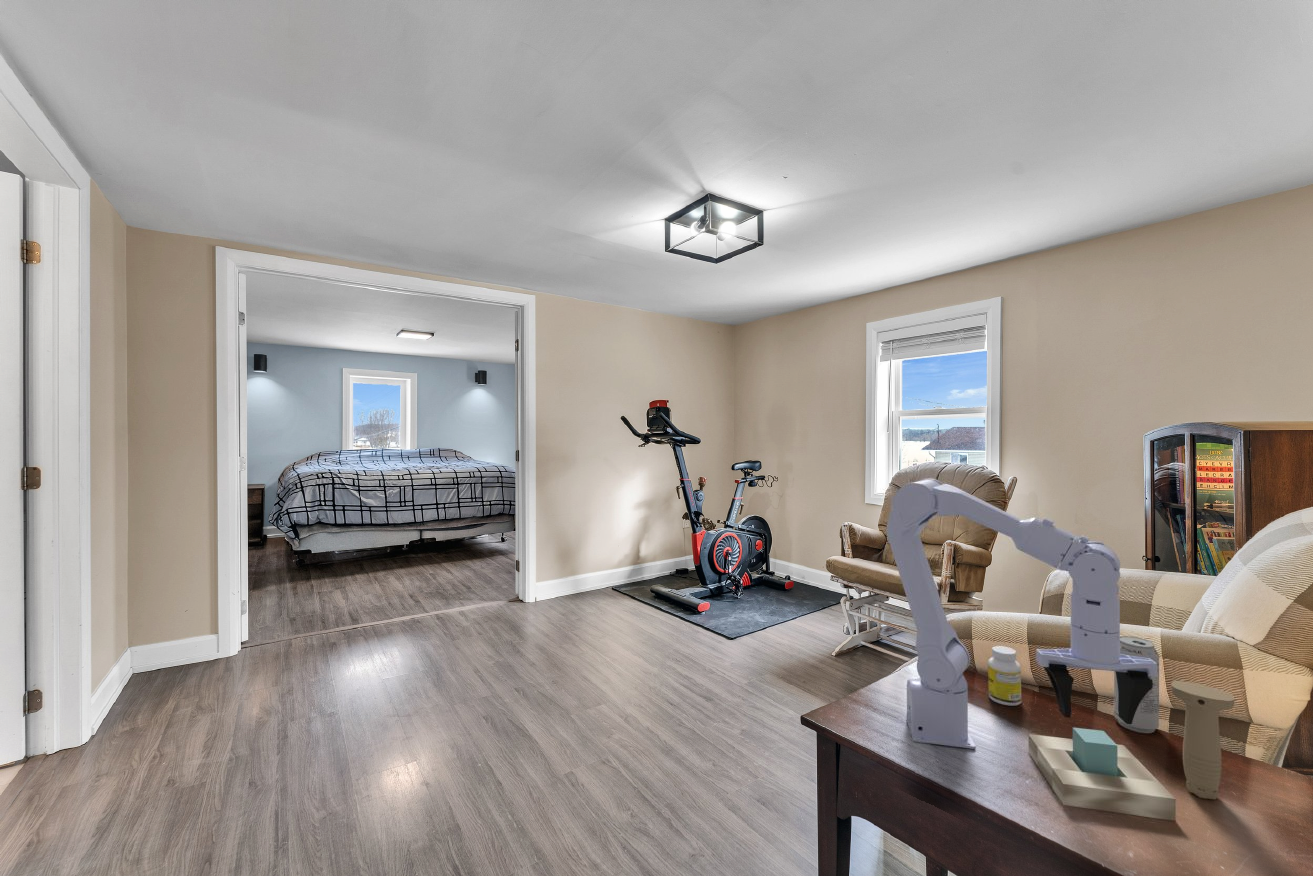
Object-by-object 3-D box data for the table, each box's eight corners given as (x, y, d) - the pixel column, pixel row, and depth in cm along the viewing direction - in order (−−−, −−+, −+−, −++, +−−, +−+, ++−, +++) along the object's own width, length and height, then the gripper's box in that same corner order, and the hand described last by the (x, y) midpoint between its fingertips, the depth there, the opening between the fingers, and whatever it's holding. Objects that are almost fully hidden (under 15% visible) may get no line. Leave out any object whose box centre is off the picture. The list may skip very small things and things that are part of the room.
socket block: (1063, 804, 78) (1063, 783, 78) (1028, 752, 91) (1028, 734, 91) (1175, 821, 75) (1175, 799, 75) (1123, 764, 87) (1123, 745, 87)
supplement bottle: (989, 690, 112) (989, 642, 111) (1022, 697, 108) (1021, 648, 108) (987, 701, 107) (986, 651, 107) (1020, 709, 104) (1020, 657, 104)
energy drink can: (1128, 714, 102) (1128, 633, 101) (1167, 731, 96) (1167, 645, 96) (1105, 720, 100) (1105, 637, 100) (1143, 738, 94) (1144, 650, 94)
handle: (1233, 813, 76) (1234, 704, 76) (1170, 791, 81) (1170, 689, 80) (1234, 796, 79) (1234, 692, 79) (1172, 776, 84) (1172, 678, 84)
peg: (1085, 789, 81) (1085, 741, 81) (1072, 772, 85) (1072, 727, 85) (1117, 793, 80) (1117, 745, 80) (1103, 776, 84) (1103, 731, 84)
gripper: (1137, 621, 84) (1137, 710, 84) (1028, 614, 88) (1028, 698, 88) (1166, 638, 77) (1166, 735, 78) (1046, 630, 81) (1046, 721, 81)
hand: (1094, 717), depth 82 cm, fingers open, 7 cm apart
